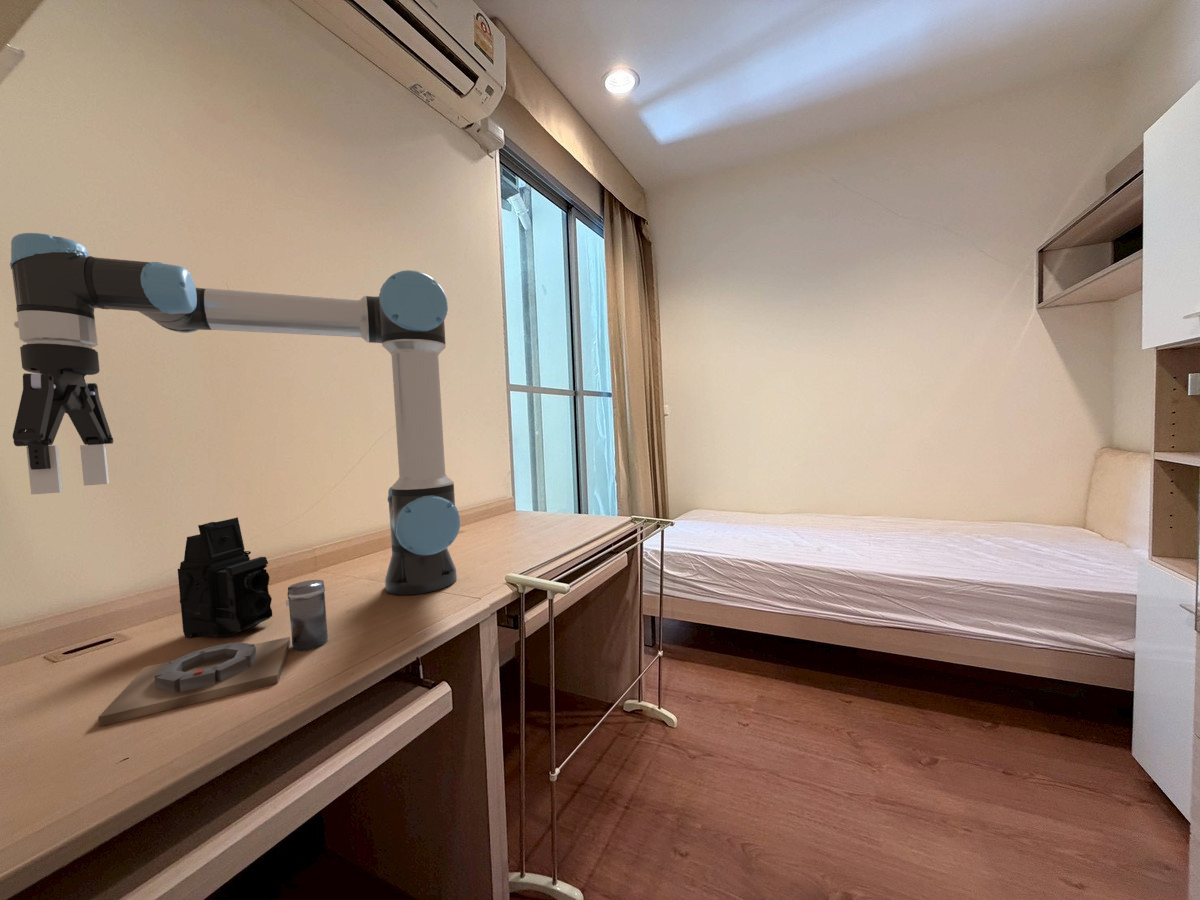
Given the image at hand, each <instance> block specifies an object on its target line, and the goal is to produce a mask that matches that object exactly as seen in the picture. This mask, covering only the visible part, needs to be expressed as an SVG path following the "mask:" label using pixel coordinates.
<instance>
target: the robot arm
mask: <svg viewBox="0 0 1200 900" xmlns="http://www.w3.org/2000/svg"><path fill="white" fill-rule="evenodd" d="M10 245H11V246H10V254H11V255H10V263H9V266H10V270H11V275H12V281H13V289H14V290H13V291H14V296H15V303H16V314H17V315H16V316H17V321H14V323H13V325H14V327H15V328H16V329H18V333H19V334H18V335H19V340H20V341H22V342H23V343H25V344H22V345H21V346H20V348H19V350H20V352H19V353H20V361H21V368H22V369H23V370H24V371H26V372H28V373H26V372H25V373H23V374H22V393H21V395H20V396H21V397H20V401H19V406H18V410H17V415H16V418H15V419H16V420H15V423H14V426H13V427H14V428H13V432H12V440H13V444H14V446H15V447H25V448H26V456H27V466H28V474H29V478H28V479H29V485H30V495H43V494H44V495H45V494H55V493H57V494H58V493H63V481H62V472H61V471H62V470H61V461H60V452H59V449H60V448H59V445H57V444H55V445H54V444H53V443H54V441H55V439H56V437H57V434H58V431H59V429H60V426H61V424H62V421H63V419H64V416H65V414H67V415H68V418H69V419H70V421H71V423H72V424H73V427H74V429H75V430H76V432H77V434H78V435H79V438H80V439H81V441H82V442H83V445H79V448H80V449H79V450H80V459H81V470H82V480H83V481H82V482H83V486H94V485H96V486H97V485H99V486H100V485H109V484H110V478H109V477H110V475H109V468H108V458H107V457H108V455H107V448H106V447H107V446H106V445H111V444H114V438H113V435H112V433H111V430H110V429H111V428H110V426H109V424H108V420H107V417H106V414H105V411H104V408H103V405H102V402H101V398H100V395H99V387H98V384H97V383H96V382H94V383H93V382H90V383H89V382H88V383H87V382H86V379H85V377H86V376H87V375H88V376H92V375H93V376H94V375H97V374H99V372H100V361H99V352H98V351H97V350H96V349H94V347H97V346H98V344H99V343H98V336H97V327H96V320H95V317H96V316H95V314H94V313H95V309H101V310H115V311H116V310H117V311H133V312H139V314H142V315H143V316H145V317H147V318H149V319H150V320H152V321H154V322H155V323H156V324H157V325H159V326H161V327H162V328H164V329H166V330H169V331H172V332H177V333H183V334H187V333H194V332H196V331H201V330H202V331H227V332H229V331H230V332H245V333H246V332H247V333H249V332H250V333H251V332H252V333H268V334H289V335H307V336H308V335H309V336H327V337H329V336H331V337H347V338H348V337H349V338H350V337H351V338H361V339H363V340H364V341H365V342H366V343H369V344H370V343H371V344H372V343H373V344H382V345H381V346H382V347H383V348H384V349H385V350H386V351H387V352H388V353H389V354H390V355H391V368H392V382H393V396H394V397H393V399H394V412H395V413H394V416H395V432H396V433H395V434H396V446H397V462H398V475H399V477H398V478H397V480H396V481H395V482H394V483H393V484H392V486H390V487H389V489H388V493H387V494H388V495H387V502H388V510H389V511H388V512H389V527H390V528H389V529H390V543H391V556H390V561H389V564H388V568H387V571H386V575H385V580H384V585H385V586H384V587H385V591H386V593H389V594H393V595H397V596H398V595H400V596H401V595H402V596H404V595H405V596H408V595H420V594H425V593H430V592H434V591H438V590H439V591H440V590H441V589H444V588H446V587H448V586H451V585H453V584H454V583H455V582H456V581H457V578H458V577H457V568H456V565H455V563H454V561H453V558H452V557H451V553H450V551H449V549H448V547H450V546H451V545H452V544H453V543H454V542H455V540H456V538H457V537H458V534H459V533H460V529H461V516H460V514H459V510H458V508H457V505H456V501H455V500H456V499H455V484H454V481H453V480H452V479H451V478H450V477H449V476H448V475H447V474H446V464H445V446H444V445H445V444H444V430H443V428H444V427H443V415H442V414H443V413H442V410H443V409H442V398H441V396H442V395H441V382H440V381H441V379H440V363H439V356H440V354H441V353H442V352H443V351H444V350H445V349H446V328H445V326H446V325H445V320H446V317H447V315H448V307H449V306H448V299H447V298H448V297H447V296H446V293H445V291H444V289H443V288H442V286H441V285H440V284H439V282H437V281H436V280H435V279H434V278H433V277H432V276H430V275H428V274H426V273H423V272H421V271H418V270H409V269H408V270H407V269H406V270H400V271H397V272H395V273H393V274H391V275H390V276H389V277H388V278H387V279H386V280H385V281H384V283H383V284H382V286H381V288H380V290H379V295H378V296H371V295H370V296H369V295H364V296H362V297H361V298H360V299H358V300H357V299H345V298H334V297H323V296H322V297H321V296H320V297H319V296H309V295H308V296H307V295H298V294H297V295H294V294H284V293H283V294H282V293H269V292H259V291H258V292H257V291H244V290H233V289H232V290H231V289H220V288H202V287H196V285H195V281H194V279H193V277H192V274H191V273H190V271H189V270H187V268H185V267H183V266H180V265H174V264H168V263H163V262H159V261H150V262H149V261H140V260H130V259H129V260H128V259H117V258H115V259H114V258H108V257H107V258H106V257H98V256H97V257H96V256H95V257H94V256H91V255H90V254H89V250H88V248H87V247H86V246H85V245H83V244H82V243H79V242H77V241H75V240H72V239H71V238H70V239H69V238H66V237H62V236H54V235H51V234H47V233H41V232H40V233H39V232H23V233H18V234H15V235H14V236H13V237H12V239H11V241H10Z"/></svg>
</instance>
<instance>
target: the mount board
mask: <svg viewBox="0 0 1200 900" xmlns="http://www.w3.org/2000/svg"><path fill="white" fill-rule="evenodd" d="M290 647H291V637H290V636H287V637H282V638H279V639H273V640H268V641H263V642H258V643H246V642H241V641H239V642H238V641H237V642H234V643H233V642H227V643H223V644H217V645H214V646H209V647H204V648H202V649H201V650H197V649H196V650H195V651H192V652H189V653H187V654H185V655H182V656H180V657H178V658H176V659H173V660H170V661H167V662H163V663H157V664H153V665H148V666H144V668H143V669H141V671H140V672H139V673H137V675H136V676H135V677H134V678H133V679H132V680H131V681H130V683H129V684H127V686H126V687H125V688H124V689H123V690H122V691H121V692H120V693H119V695H117V696H116V697H115V698H114V699H113V701H112V702H111V703H110V704H109V705H108V706H107V707H106V708H105V709H104V710H103V712H102V713H101V714H100V715H99V716H98V719H97V720H98V726H99V727H104V726H107V725H112V724H116V723H120V722H123V721H125V722H126V721H129V720H133V719H136V718H139V717H140V718H141V717H144V716H148V715H152V714H157V713H161V712H164V711H165V712H166V711H168V710H172V709H178V708H181V707H186V706H189V705H194V704H198V703H201V702H206V701H209V700H215V699H218V698H222V697H227V696H230V695H234V694H238V693H242V692H247V691H251V690H256V689H258V688H259V689H260V688H263V687H267V686H272V685H275V684H278V683H279V681H280V677H281V674H282V672H283V668H284V665H285V661H286V659H287V656H288V654H289V653H288V652H289V650H290Z"/></svg>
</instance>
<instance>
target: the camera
mask: <svg viewBox="0 0 1200 900" xmlns="http://www.w3.org/2000/svg"><path fill="white" fill-rule="evenodd" d="M197 526H198V527H197V528H198V531H199V534H195V535H190V536H186V542H185V547H184V548H185V549H184V550H185V551H184V556H183V557H184V558H183V560H182V561H181V562H180V565H179V568H177V576H178V577H177V578H178V579H177V580H178V586H179V587H178V589H179V603H180V610H181V611H180V612H181V622H182V623H181V624H182V633H183V634H184V637H185V638H186V639H188V638H192V637H194V636H202V637H203V636H206V637H224V638H225V637H226V638H229V637H230V636H233V635H235V634H237V633H239V632H242V631H244V630H245V631H246V630H248V629H250V628H252V627H254V626H256V625H258V624H259V625H260V624H261V623H263V622H264V621H268V620H269V619H271V617H272V618H273V609H272V605H271V604H272V599H273V598H272V596H271V594H270V593H269V592H270V591H269V583H270V575H269V572H267V569H266V568H267V567H268V564H269V562H268V559H267V557H266V556H259V557H257V558H253V559H251V558H250V554H252V552H251V550H248V551H247V550H245V544H244V539H243V535H242V531H241V530H242V529H241V525H240V521H239V517H238V516H237V517H234V518H230V519H224V520H219V521H211V522H207V523H203V524H198V525H197Z"/></svg>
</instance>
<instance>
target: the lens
mask: <svg viewBox="0 0 1200 900" xmlns="http://www.w3.org/2000/svg"><path fill="white" fill-rule="evenodd" d="M325 588H326V586H325V581H324V580H322V579H312V580H311V579H310V580H309V579H308V580H303V581H299V582H296V583H293V584H291V585H289V586H288V587H287V600H285V607H288V608H289V619H290V621H289V623H290V635H291V646H292V651H294V652H307V651H310V650H316V649H318V648H320V647H323V646H324V645H325V644H327V643H328V641H329V638H328V637H329V636H328V635H329V634H328V623H327V609H326V608H327V607H326V597H325V596H326V595H325V594H326V593H325V592H326V589H325Z"/></svg>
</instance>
